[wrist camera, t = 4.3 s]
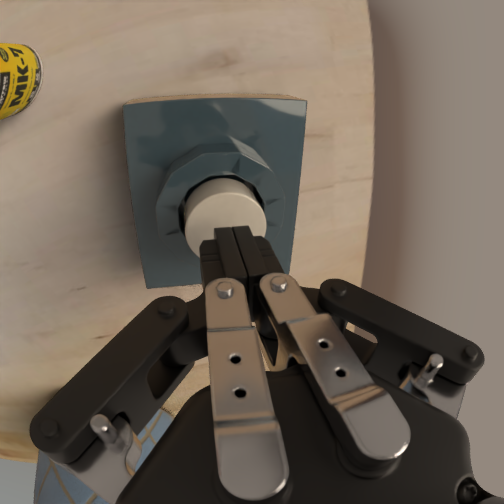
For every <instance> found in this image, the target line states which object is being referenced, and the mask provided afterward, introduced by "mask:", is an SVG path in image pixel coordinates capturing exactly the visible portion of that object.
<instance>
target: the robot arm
mask: <svg viewBox="0 0 504 504" xmlns="http://www.w3.org/2000/svg"><path fill="white" fill-rule="evenodd" d="M199 253H200V270H201V280H202V286H203V293H202V294H201V295H200V296H199V297H197V298H196V299H194V300H192V301H189V302H186V303H185V302H184V301H183V300H182V299H180V298H178V297H174V296H164V297H160V298H157V299H155V300H154V301H152V302H151V303H150V304H149V305H148V306H147V307H146V308H145V309H144V310H142V311H141V312H140V313H139V314H138V315H137V316H136V317H135V318H134V319H133V320H132V321H131V322H130V323H129V324H128V325H127V326H126V327H124V328H123V329H122V330H121V331H120V332H119V333H118V334H117V335H116V336H115V337H114V338H113V339H112V340H111V341H110V342H109V343H108V344H107V345H106V346H105V347H104V348H103V349H101V350H100V351H99V352H98V353H97V354H96V355H95V356H94V357H93V358H92V359H91V360H90V361H89V362H88V363H87V364H86V365H85V366H84V367H83V368H82V369H81V370H80V371H79V372H78V373H77V374H76V375H75V376H74V377H73V378H72V379H71V380H70V381H69V382H68V383H67V384H66V385H65V386H64V387H63V388H62V389H61V390H60V391H59V392H58V393H57V394H56V395H55V396H54V397H53V398H52V399H51V400H50V401H49V402H48V403H47V404H46V405H45V406H44V407H43V408H42V409H41V410H40V411H39V412H38V413H37V414H36V415H35V416H34V418H33V419H32V421H31V424H30V437H31V440H32V442H33V443H34V445H35V446H36V447H37V448H38V449H40V450H41V451H42V452H43V453H44V454H46V455H47V456H48V458H49V459H50V460H52V461H53V462H54V463H55V464H57V465H58V466H59V467H61V468H62V469H63V470H65V471H66V472H68V473H69V474H71V475H74V476H75V477H76V478H78V479H79V480H80V481H81V482H83V483H84V484H85V485H86V486H87V487H89V488H90V489H91V490H92V491H93V492H95V493H96V494H97V495H98V496H100V497H101V498H102V499H103V500H105V501H106V502H107V503H109V504H504V498H501V497H497V496H494V495H492V494H490V493H488V492H486V491H485V490H483V489H482V488H481V487H480V486H479V485H478V484H477V482H476V480H475V478H474V475H473V471H472V466H471V459H470V443H469V438H468V435H467V432H466V430H465V428H464V427H463V426H462V424H461V423H460V422H459V421H458V420H457V417H458V414H459V410H460V407H461V403H462V400H463V396H464V393H465V389H466V386H467V385H468V383H469V382H470V381H471V380H472V379H473V377H474V376H475V375H476V373H477V372H478V371H479V370H480V368H481V367H482V366H483V364H484V354H483V352H482V350H481V349H480V348H479V347H478V346H477V345H476V344H475V343H473V342H471V341H469V340H467V339H465V338H463V337H461V336H459V335H457V334H455V333H453V332H451V331H449V330H447V329H445V328H443V327H441V326H439V325H437V324H435V323H433V322H430V321H428V320H426V319H424V318H422V317H420V316H418V315H416V314H414V313H412V312H410V311H408V310H406V309H403V308H401V307H399V306H397V305H395V304H393V303H391V302H389V301H386V300H385V299H383V298H381V297H378V296H376V295H374V294H372V293H370V292H368V291H366V290H364V289H362V288H359V287H357V286H355V285H353V284H351V283H349V282H347V281H344V280H341V279H328V280H326V281H324V282H323V283H322V284H321V286H320V289H315V288H306V287H301V286H299V285H298V283H297V281H296V280H295V279H294V278H293V277H291V276H289V275H287V274H285V273H284V271H283V269H282V267H281V265H280V263H279V261H278V259H277V257H276V256H275V253H274V251H273V250H272V247H271V245H270V243H269V241H268V240H266V239H265V238H264V237H263V236H253V234H252V232H251V229H250V227H249V225H245V226H232V227H219V228H214V239H211V240H203V241H202V243H201V245H200V246H199ZM251 322H255V324H256V327H255V326H252V323H251ZM348 322H350V323H351V324H353V325H355V326H357V327H359V328H361V329H363V330H365V331H367V332H369V333H371V334H373V335H374V336H375V337H376V339H377V341H378V343H373V342H371V341H369V340H367V339H365V338H363V337H361V336H359V335H357V334H355V333H353V332H351V331H349V330H347V329H346V326H347V323H348ZM260 348H261V349H260ZM261 351H262V353H263V356H264V358H265V360H266V363H267V365H268V368H269V370H270V371H265V367H264V363H263V358H262V353H261ZM206 356H208V359H209V374H210V385H209V386H207V387H205V388H203V389H201V390H199V391H198V392H196V393H195V394H194V395H193V396H191V397H190V398H189V399H188V401H187V402H186V403H185V404H184V405H183V407H182V408H181V410H180V411H179V412H178V414H177V415H176V417H175V418H174V420H173V421H172V422H171V424H170V425H169V427H168V428H167V430H166V431H165V432H164V434H163V435H162V437H161V438H160V439H159V441H158V442H157V444H156V445H155V446H154V448H153V449H152V451H151V452H150V453H149V455H148V456H147V457H146V459H145V460H144V462H143V463H142V464H141V466H140V467H139V468H138V470H137V471H136V472H135V469H136V465H137V462H138V460H139V459H140V457H141V454H142V446H141V443H140V440H139V439H138V437H137V436H138V435H139V434H140V432H141V431H142V430H143V429H144V427H145V426H146V425H147V424H148V423H149V421H150V420H151V419H152V418H153V416H154V415H155V414H156V413H157V411H158V410H159V409H160V408H161V406H162V405H163V404H164V403H165V401H166V400H167V399H168V398H169V396H170V395H171V394H172V393H173V391H174V390H175V389H176V388H177V386H178V385H179V384H180V383H181V381H182V380H183V379H184V378H185V376H186V375H187V374H188V373H189V371H190V370H191V369H192V367H193V366H194V363H195V361H196V360H199V359H201V358H204V357H206Z"/></svg>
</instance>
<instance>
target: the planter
mask: <svg viewBox="0 0 504 504" xmlns="http://www.w3.org/2000/svg"><path fill="white" fill-rule="evenodd" d="M173 420H174V417H173V416H172V415H171V414H169V413H168V412H166V411H164V410H163V409H161V408H160V409H159V410H158V411H157V413H156V414H155V415H154V416H153V418H152V419H151V420H150V421H149V423H148V424H147V425H146V426H145V427H144V429H143V430H142V431H141V432H140V434H139V435H138V436H137V437H138V439H139V440H140V443H141V446H142V454H141V457H140V459H139V460H138V462H137V465H136V469H135V472H136V471H137V470H138V468H139V467H140V466H141V464H142V463H143V462H144V460H145V459H146V457H147V456H148V455H149V453H150V452H151V451H152V449H153V448H154V446H155V445H156V444H157V442H158V441H159V439H160V438H161V437H162V435H163V434H164V432H165V431H166V430H167V428H168V427H169V425H170V424H171V422H172V421H173ZM34 504H109V503H107V502H106V501H105V500H103V499H102V498H101V497H100V496H98V495H97V494H96V493H95V492H93V491H92V490H91V489H90V488H89V487H87V486H86V485H85V484H84V483H83V482H81V481H80V480H79V479H78V478H76V477H75V476H74V475H71V474H69V473H68V472H66V471H65V470H63V469H62V468H61V467H59V466H58V465H57V464H55V463H54V462H53V461H52V460H50V459H49V458H48V456H47V455H46V454H44V453H43V452H42V451H41V450H40V449H39V454H38V462H37V470H36V478H35V489H34Z"/></svg>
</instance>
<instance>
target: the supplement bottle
mask: <svg viewBox="0 0 504 504" xmlns="http://www.w3.org/2000/svg"><path fill="white" fill-rule="evenodd" d="M42 80H43V65H42V61H41V58H40V56H39V54H38V53H37V52H36V51H35V50H34V49H33V48H31V47H29V46H27V45H21V44H8V43H0V120H1V119H4V118H6V117H9V116H11V115H14V114H17V113H19V112H21V111H22V110H24V109H25V108H27V107H28V106H29V105H30V104H31V103H32V102H33V100H34V99H35V98H36V96H37V94H38V92H39V90H40V88H41V85H42Z"/></svg>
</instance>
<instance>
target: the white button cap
mask: <svg viewBox="0 0 504 504" xmlns="http://www.w3.org/2000/svg"><path fill="white" fill-rule="evenodd" d="M184 225H185V236H186V240H187V243H188V245H189V247H190V249H191V250H192V251H193V252H194V253H195V254H196V255H197V256H198V257H199V258H200V253H199V246H200V245H201V243H202V241H203V240H211V239H214V228H219V227H232V226H245V225H249V227H250V229H251V232H252V234H253V236H263V237H264V236H265V233H266V217H265V214H264V212H263V210H262V208H261V206H260V204H259V203H258V201H257V199H256V198H255V196H254V194H253V193H252V191H251V190H250V189H249V188H248V187H247V186H246V185H244V184H243V183H241V182H239V181H237V180H233V179H228V178H219V179H213V180H210V181H207V182H205V183H203V184H201V185H200V186H199V187H197V188H196V189H195V190H194V191H193V192H192V193H191V194H190V196H189V198H188V199H187V202H186V204H185V208H184Z"/></svg>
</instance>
